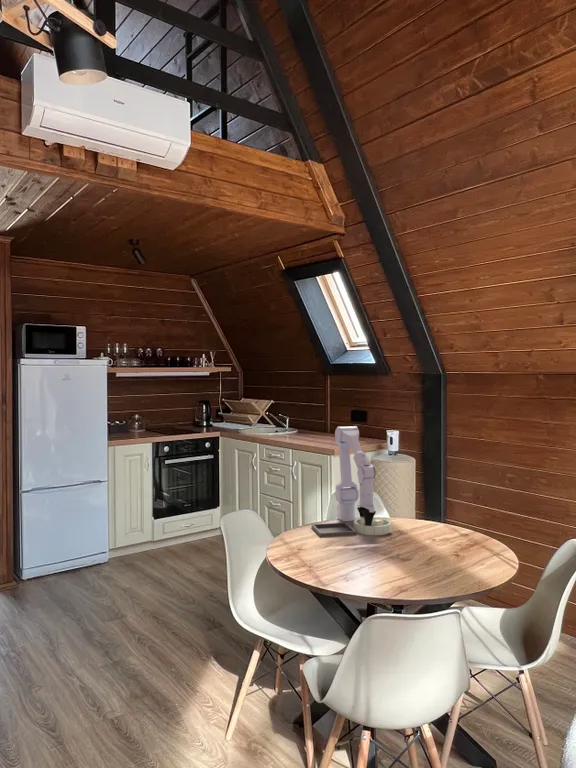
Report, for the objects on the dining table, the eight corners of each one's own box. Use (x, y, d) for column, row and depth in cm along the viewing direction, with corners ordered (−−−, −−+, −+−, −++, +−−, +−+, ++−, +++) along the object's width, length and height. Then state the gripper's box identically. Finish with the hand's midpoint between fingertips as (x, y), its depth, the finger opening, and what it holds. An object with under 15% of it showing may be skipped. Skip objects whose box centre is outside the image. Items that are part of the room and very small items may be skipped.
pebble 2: (371, 528, 251) (371, 519, 251) (381, 528, 252) (381, 518, 252) (375, 531, 247) (375, 522, 246) (384, 530, 247) (385, 521, 247)
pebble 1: (359, 525, 250) (359, 516, 250) (369, 525, 251) (369, 515, 251) (362, 528, 245) (362, 519, 245) (372, 527, 246) (372, 518, 246)
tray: (311, 529, 252) (311, 524, 252) (345, 528, 255) (345, 522, 255) (320, 539, 238) (320, 533, 238) (356, 537, 241) (356, 531, 241)
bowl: (349, 528, 255) (349, 518, 255) (382, 526, 258) (382, 516, 258) (361, 538, 239) (361, 527, 239) (396, 536, 243) (396, 525, 243)
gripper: (352, 490, 254) (351, 521, 254) (363, 497, 240) (363, 530, 240) (367, 490, 255) (367, 520, 256) (379, 497, 241) (379, 529, 242)
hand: (366, 525), depth 248 cm, fingers closed on pebble 1, 4 cm apart
